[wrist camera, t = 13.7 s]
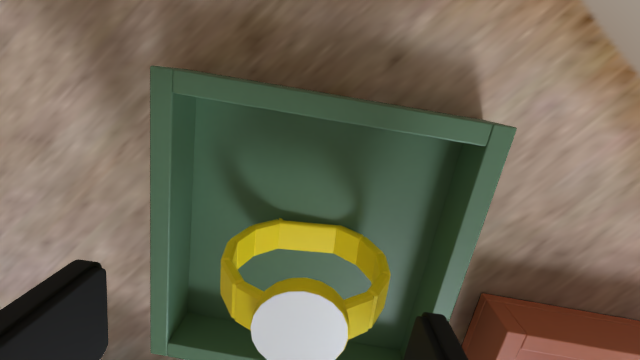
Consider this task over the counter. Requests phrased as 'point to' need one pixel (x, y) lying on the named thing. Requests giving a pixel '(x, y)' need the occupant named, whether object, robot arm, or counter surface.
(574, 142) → the counter surface
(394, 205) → the green tray
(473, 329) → the terracotta tray
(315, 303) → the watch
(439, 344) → the robot arm
